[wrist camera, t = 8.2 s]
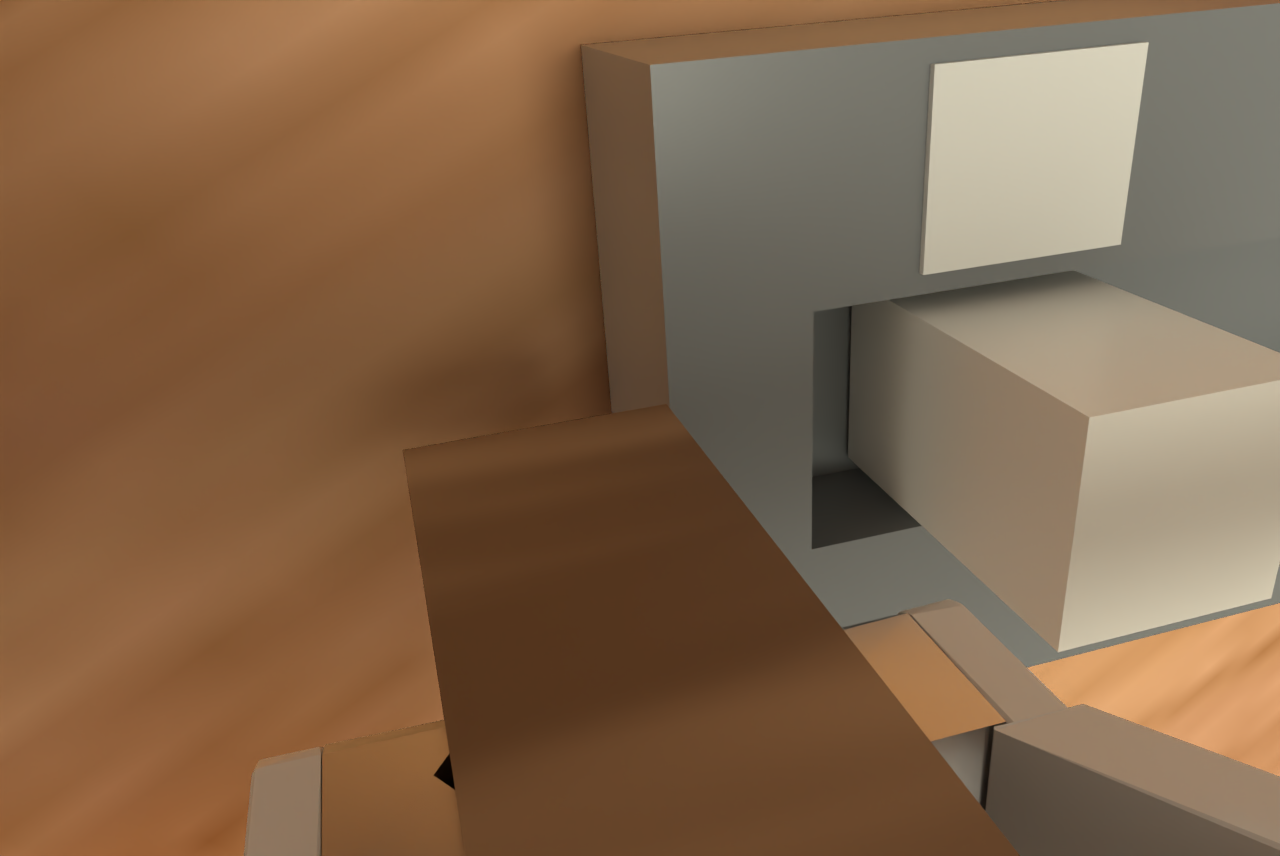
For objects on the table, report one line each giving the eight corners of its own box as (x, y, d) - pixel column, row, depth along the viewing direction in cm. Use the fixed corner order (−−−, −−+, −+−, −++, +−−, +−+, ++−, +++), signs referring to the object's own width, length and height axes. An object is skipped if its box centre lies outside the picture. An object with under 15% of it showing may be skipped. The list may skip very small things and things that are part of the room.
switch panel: (629, 624, 19) (691, 757, 16) (580, 44, 14) (652, 65, 11) (1410, 450, 23) (1586, 528, 19) (1552, -46, 18) (1807, -48, 15)
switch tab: (847, 456, 17) (1057, 652, 12) (852, 279, 15) (1089, 417, 11) (1010, 425, 17) (1270, 598, 12) (1028, 252, 16) (1325, 370, 11)
